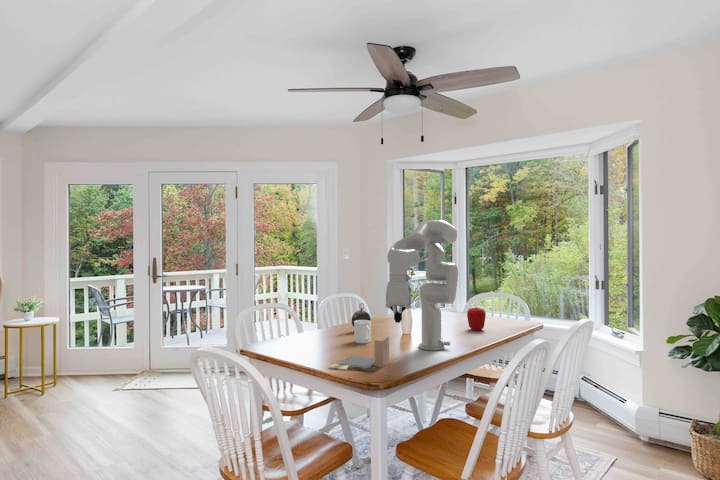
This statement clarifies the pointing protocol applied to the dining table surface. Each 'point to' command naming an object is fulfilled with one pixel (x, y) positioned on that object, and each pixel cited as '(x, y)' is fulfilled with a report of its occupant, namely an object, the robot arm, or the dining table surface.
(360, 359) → the mat
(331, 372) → the dining table surface
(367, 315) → the alarm clock
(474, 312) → the red bell pepper
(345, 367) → the turner
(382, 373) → the dining table surface
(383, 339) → the tan wooden block
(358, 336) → the mug
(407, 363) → the dining table surface
